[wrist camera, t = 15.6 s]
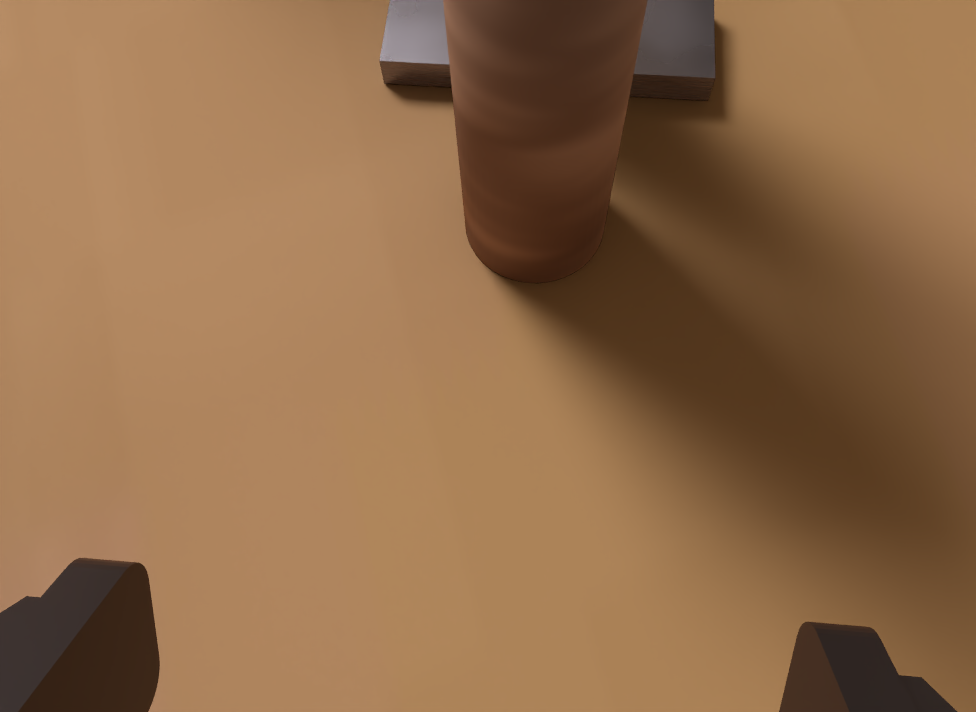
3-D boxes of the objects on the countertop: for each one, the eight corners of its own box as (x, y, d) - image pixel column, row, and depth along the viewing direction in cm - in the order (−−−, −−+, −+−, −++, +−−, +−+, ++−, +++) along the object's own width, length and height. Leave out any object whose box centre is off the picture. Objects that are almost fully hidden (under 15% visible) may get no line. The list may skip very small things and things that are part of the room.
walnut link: (458, 278, 24) (410, -97, 13) (472, 159, 25) (440, -269, 14) (601, 287, 24) (680, -87, 12) (606, 167, 25) (680, -262, 14)
